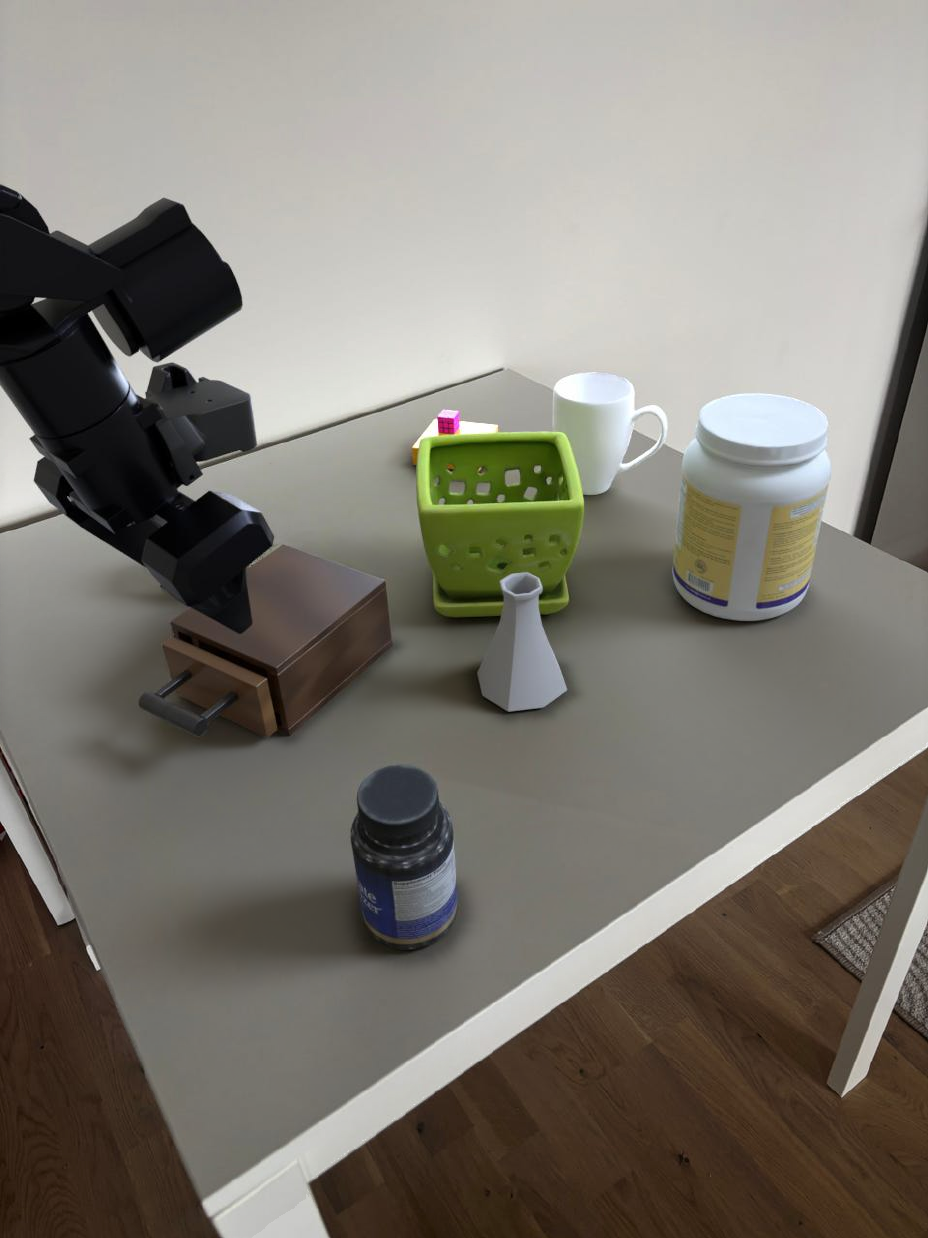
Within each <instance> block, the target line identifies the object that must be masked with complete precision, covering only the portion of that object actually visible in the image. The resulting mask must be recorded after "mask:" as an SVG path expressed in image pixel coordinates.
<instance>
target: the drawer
mask: <svg viewBox="0 0 928 1238" xmlns="http://www.w3.org/2000/svg"><path fill="white" fill-rule="evenodd" d="M191 639H192V643H193V645H191V644H189V643H187V642H185V641H182V640H180V639H178V638H176V637H174V635H173V636H170V637H169V638H167V639H166V640H164V641H163V642H162V643H161V647H162V652H163V655H164V658H165V662H166V666H167V669H168V672H169V676H170V680H169V681H168V682H166V683H165V684H164V685H162V686H161V687H160V688H158V689H157V690H156V691H154V692H151V691H145V692H143V693H142V694H141V695H140V696H139V698H138V706H139V708H140V709H141V710H144V711H146V713H149V714H150V715H154V716H155V717H157V718H159V719H161V720H163V721H165V722H167V723H168V724H171V725H173V726H175V727H177V728H179V729H180V730H183V731H185V732H187V733H189V734H191V735H192V736H195V737H198V738H199V737H202V736H203V735H204V734H206V732H207V730H208V728H209V723H210V722H211V721H214V719H215V718H217V717H218V716H220V717H223V718H225V719H227V720H229V721H231V722H233V723H235V724H237V725H239V726H241V727H243V728H245V729H247V730H250V731H252V732H254V733H256V734H258V735H260V736H261V737H264V738H266V739H268V738H270V737H271V736H272V735H273V734H274V733H275V732H276V731H278V730H277V724H276V719H275V715H274V712H276V713H279V709H278V704H277V699H276V694H275V690H274V685H273V680H272V675H271V672H270V671H268V670H265V669H263V668H261V667H258V666H256V665H254V664H252V663H249V662H247V661H245V660H243V659H240V658H238V657H236V656H233V655H231V654H229V653H227V652H224V651H222V650H220V649H218V648H215V647H213V646H211V645H209V644H206V643H204V642H202V641H199V640H197V639H195V638H193V637H191ZM172 693H175V695H176V696H179V697H181V698H183V699H186V700H187V701H190V702H192V703H194V704H196V705H198V706H200V707H202V708H204V709H206V710H205V711H204V712H202V714H200V715H199V714H196V713H194V712H192V711H190V710H189V709H187V708H184V707H183V706H180V705H178V704H176V703H174V702H172V701H170V700H168V699H166V698H167V697H168V696H169V695H171V694H172Z"/></svg>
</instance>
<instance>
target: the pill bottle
mask: <svg viewBox="0 0 928 1238" xmlns="http://www.w3.org/2000/svg"><path fill="white" fill-rule="evenodd" d="M356 805H357V812H356V814H355V816H354V817H353V820H352V823H351V827H350V844H351V850H352V858H353V863H354V870H355V876H356V882H357V889H358V895H359V901H360V908H361V914H362V915H361V916H362V919H363V922H364V925H365V928H366V929H367V931H368V932H369V935H371V936H372V938H374V939H375V940H376V941H379V942H380V943H383V944H386V945H387V946H388V947H389V948H391V949H396V950H402V951H412V950H418V949H422V948H425V947H429V946H430V945H431V946H432V945H433V944H435V943H437V942H438V941H439V940H441V939H442V938H444V937H445V935H446V934H448V932H449V931H450V929H451V928H452V926H453V924H454V923H455V921H456V919H457V914H458V905H459V904H458V888H457V871H456V857H455V855H456V854H455V839H454V826H453V821H452V818H451V816H450V813H449V811H448V810H447V808H446V806H444V804H442V802H441V801H440V795H439V788H438V785H437V782H436V781H435V779H434V778H433V777H432V775H430V773H428V772H427V771H426V770H425V769H422V768H420V767H417V766H414V765H409V764H393V765H392V764H391V765H388V766H383V767H381V768H378V769H375V770H374V771H373V772H371V773H370V774H368V775H367V776H366V777H365V778H364V780H363V781H362V782H361V783H360V785H359V787H358V789H357V794H356Z"/></svg>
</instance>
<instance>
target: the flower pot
mask: <svg viewBox="0 0 928 1238" xmlns="http://www.w3.org/2000/svg"><path fill="white" fill-rule="evenodd" d="M449 464H452V465H453V466H454V469H452V471H450V469H447V466H448V465H449ZM538 466H539V467H540V470H539V471H535V468H536V467H538ZM481 467H482V468H484V469H485V470H484V471H483V472H482V473H480V471H478V469H479V468H481ZM482 468H481V469H482ZM507 471H518V472H519V482H518V483H511V484H507V483H506V473H507ZM436 478H438V482H437V483H435V480H436ZM548 478H551V479H550V480H551V481H550V482H548ZM451 482H463V483H464V490H463V491H462V492H450V489H451V488H450V486H451ZM481 483H482V484H489V491H488V492H485V493H483V492H477V487H478V484H481ZM528 488H534V489H536V492H535V493H534V496H533V497H527V496H525V494H526V491H527V489H528ZM415 492H416V506H417V513H418V520H419V527H420V533H421V539H422V543H423V549H424V551H425V555H426V559H427V562H428V564H429V567H430V569H431V571H432V574H433V575H432V600H433V607H434V609H435V610H436V612H438V613H439V614H440V615H443V616H445V617H448V618H475V617H476V618H477V617H478V618H479V617H501V614H502V609H503V604H504V595H503V593H502V590H501V586H500V580H502V579H503V578H505V577H507V576H508V575H510V574H515V573H524V572H528V573H530V574H532V575H534V576H536V577H538V578H539V579H540V582H541V585H542V587H543V590H542V593H541V594H539V613H540V615H544V616H548V615H549V616H550V614H555V613H557V612H559V611H562V610H563V609H564V608H566V607H567V606H568V604H569V602H570V596H569V590H568V589H569V588H568V584H567V578H566V574H567V572H568V571H569V568H570V566H571V564H572V562H573V560H574V557H575V554H576V551H577V548H578V545H579V542H580V537H581V534H582V528H583V521H584V514H585V499H584V495H583V493H582V487H581V482H580V477H579V473H578V469H577V466H576V462H575V458H574V455H573V452H572V449H571V446H570V443H569V441H568V439H567V436H566V435H565V434H564V433H562V432H553V431H514V432H513V431H512V432H511V431H510V432H505V431H504V432H498V433H477V434H456V435H442V436H431V437H424V438H422V439H421V440H420V443H419V449H418V456H417V465H416V469H415ZM501 495H503V496H504V499H503V500H498V497H499V496H501ZM441 499H443V500H444V502H443V503H442V504H440V503H439V502H440V500H441ZM469 501H472V503H471V504H469V503H468V502H469Z"/></svg>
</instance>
